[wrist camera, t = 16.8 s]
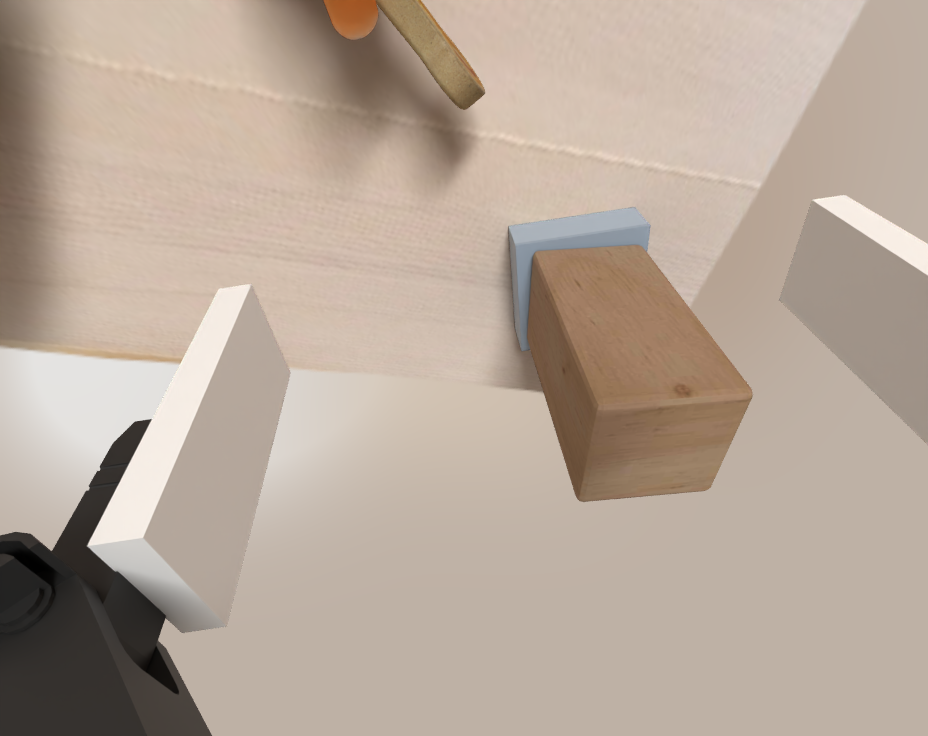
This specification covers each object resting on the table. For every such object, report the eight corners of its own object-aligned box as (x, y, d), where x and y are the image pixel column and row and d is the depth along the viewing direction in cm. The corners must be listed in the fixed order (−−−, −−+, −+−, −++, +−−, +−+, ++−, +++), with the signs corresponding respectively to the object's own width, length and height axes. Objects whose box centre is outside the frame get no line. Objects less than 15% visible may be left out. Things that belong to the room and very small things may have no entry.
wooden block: (532, 248, 46) (596, 405, 31) (642, 242, 47) (758, 392, 31) (525, 339, 53) (576, 505, 37) (622, 332, 53) (711, 493, 38)
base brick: (515, 328, 57) (521, 351, 54) (508, 226, 49) (515, 245, 46) (624, 312, 57) (636, 334, 54) (634, 207, 49) (650, 225, 46)
